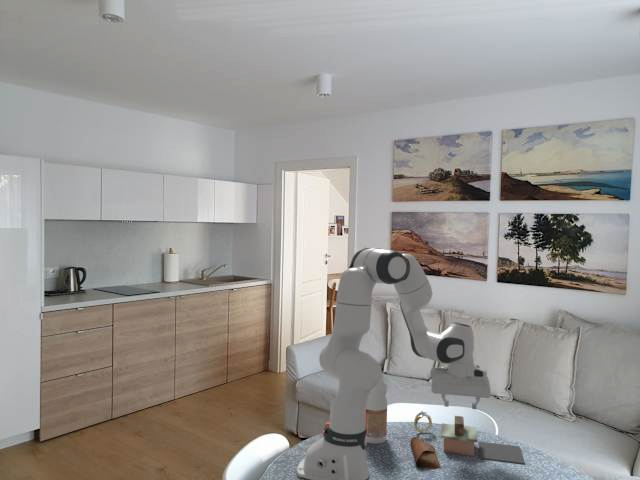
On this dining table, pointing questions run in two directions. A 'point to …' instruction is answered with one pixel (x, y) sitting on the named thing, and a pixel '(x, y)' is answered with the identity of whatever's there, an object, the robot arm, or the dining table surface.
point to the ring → (420, 418)
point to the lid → (459, 431)
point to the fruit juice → (377, 413)
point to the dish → (459, 446)
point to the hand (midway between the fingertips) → (460, 407)
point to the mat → (500, 452)
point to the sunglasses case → (424, 454)
